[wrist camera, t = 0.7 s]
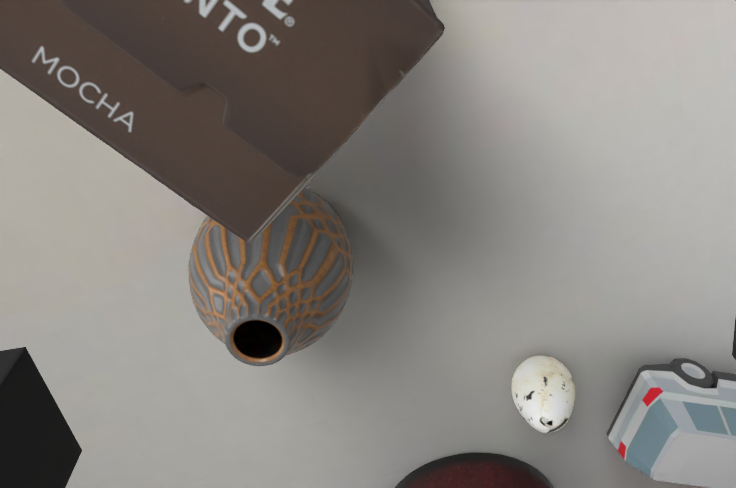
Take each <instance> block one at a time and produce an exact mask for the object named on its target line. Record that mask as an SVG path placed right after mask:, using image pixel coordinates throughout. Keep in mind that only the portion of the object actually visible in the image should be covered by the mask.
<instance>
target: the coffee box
mask: <svg viewBox="0 0 736 488" xmlns="http://www.w3.org/2000/svg"><path fill="white" fill-rule="evenodd" d="M444 29H445V28H444V25H443V23H442V22H441V21H440V20H439V19H438V18H437V17H436V15H435V13H434V10H433V8H432V6H431V3H430V1H429V0H0V69H1V70H3V71H4V72H6V73H7V74H9V75H10V76H12V77H13V78H14V79H16V80H17V81H19V82H20V83H21V84H23V85H24V86H26V87H27V88H28V89H30V90H31V91H33V92H34V93H35V94H37V95H38V96H40V97H41V98H42V99H44V100H45V101H47V102H48V103H49V104H51V105H52V106H54V107H55V108H56V109H58V110H59V111H61V112H62V113H63V114H65V115H66V116H68V117H69V118H70V119H72V120H73V121H75V122H76V123H77V124H79V125H80V126H82V127H83V128H85V129H86V130H87V131H89V132H90V133H92V134H93V135H94V136H96V137H97V138H99V139H100V140H102V141H103V142H105V143H106V144H107V145H109V146H110V147H112V148H113V149H115V150H116V151H117V152H119V153H120V154H121V155H123V156H124V157H125V158H127V159H128V160H130V161H131V162H133V163H134V164H136V165H137V166H139V167H140V168H142V169H143V170H144V171H146V172H147V173H148V174H150V175H151V176H152V177H154V178H155V179H156V180H158V181H159V182H161V183H162V184H164V185H165V186H167V187H168V188H169V189H171V190H172V191H174V192H175V193H176V194H178V195H179V196H181V197H182V198H183V199H185V200H186V201H188V202H189V203H190V204H191V205H193V206H194V207H196V208H198V209H200V210H201V211H202V212H203V213H205V214H206V215H208V216H209V217H210V218H212V219H213V220H215V221H216V222H218V223H219V224H221V225H222V226H223V227H225V228H226V229H228V230H229V231H231V232H232V233H234V234H235V235H237V236H238V237H240V238H241V239H243V240H244V241H245V242H247V243H251V242H252V241H253V240H255V239H256V238H257V237H258V236H259V235H260V234H261V233H262V232H263V231H264V230H265V229H266V228H267V227H268V225H269V224H270V223H271V222H272V221H273V220H274V219H275V218H276V217H277V216H278V215H279V214H280V213H281V212H282V211H283V210H284V208H285V207H286V206H287V205H288V204H289V203H290V202H291V201H292V200H293V199H294V198H295V197H296V196H297V195H298V193H299V192H300V191H301V190H302V189H303V188H304V187H305V186H306V185H307V184H308V182H309V181H310V180H311V179H312V178H313V177H314V176H315V175H316V174H317V173H318V172H319V170H320V169H321V168H322V167H323V166H324V165H325V164H326V163H327V162H328V161H329V159H330V158H331V157H332V156H333V155H334V154H335V153H336V152H337V151H338V149H339V148H340V147H341V146H342V145H343V144H344V143H345V142H346V141H347V140H348V138H349V137H350V136H351V135H352V134H353V133H354V132H355V131H356V130H357V128H358V127H359V126H360V125H361V124H362V123H363V122H364V121H365V120H366V118H367V117H368V116H369V115H370V114H371V113H372V112H373V111H374V110H375V108H376V107H377V106H378V105H379V104H380V103H381V102H382V101H383V100H384V98H385V97H386V96H387V95H388V94H389V93H390V91H391V90H392V89H393V88H394V87H395V86H397V85H398V84H399V82H400V81H401V80H402V79H403V78H404V77H405V75H406V74H407V73H408V72H409V71H410V70H411V69H412V68H413V67H414V66H415V65H416V64H417V63H418V62H419V60H420V59H421V58H422V57H423V56H424V55H425V54H426V53H427V51H428V50H429V49H430V48H431V47H432V46H433V45H434V43H435V42H436V41H437V40H438V39H439V38H440V37H441V35H442V34H443V31H444Z"/></svg>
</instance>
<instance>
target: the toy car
mask: <svg viewBox="0 0 736 488" xmlns="http://www.w3.org/2000/svg"><path fill="white" fill-rule="evenodd" d="M607 437H608V439H609V440H610V442H611V443H612V444H613V445H614V446H615V448H616V449H617V450H618V452H619V453H620V454H621V456H622V457H623V459H624V460H625V462H626V463H628V464H629V465H631V466H633V467H634V468H636V469H637V470H639V471H640V472H642V473H644V474H645V475H647V476H648V477H650V478H651V479H653V480H657V481H664V482H671V483H678V484H685V485H693V486H700V487H707V488H736V375H735V374H729V373H722V372H716V371H713V372H712V374H711V373H710V372H709V371H708V370H707V369H706V368H705V367H704V366H702V365H700V364H699V363H697V362H695V361H692V360H689V359H674V360H673V361H672V362H671V363H670V365H669V364H660V365H645V366H643V367H641V368H640V369H639V370H638V372H637V374H636V376H635V378H634V380H633V382H632V384H631V386H630V388H629V390H628V392H627V394H626V396H625V398H624V400H623V402H622V404H621V406H620V408H619V410H618V412H617V414H616V416H615V418H614V420H613V422H612V424H611V426H610V428H609V430H608V432H607Z"/></svg>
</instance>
